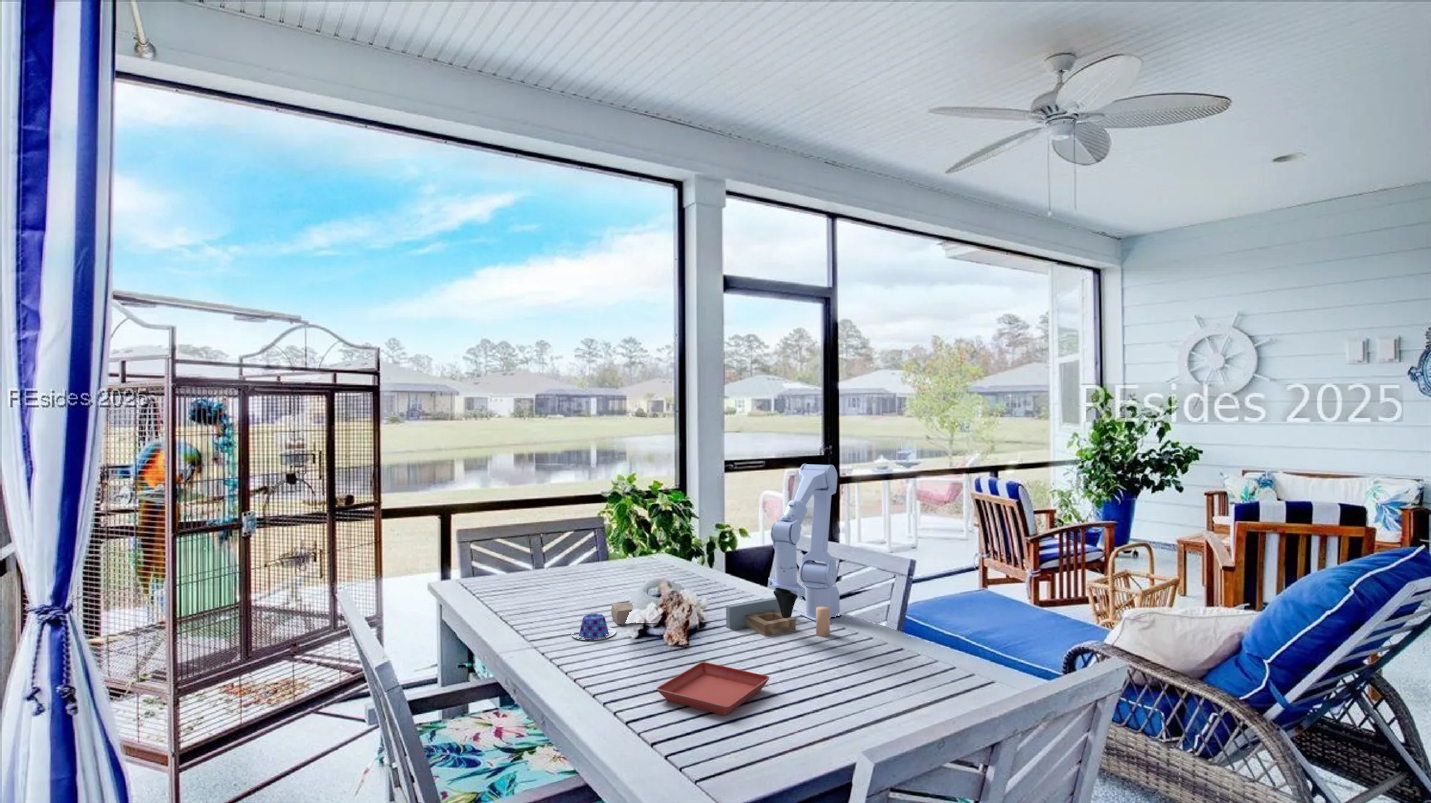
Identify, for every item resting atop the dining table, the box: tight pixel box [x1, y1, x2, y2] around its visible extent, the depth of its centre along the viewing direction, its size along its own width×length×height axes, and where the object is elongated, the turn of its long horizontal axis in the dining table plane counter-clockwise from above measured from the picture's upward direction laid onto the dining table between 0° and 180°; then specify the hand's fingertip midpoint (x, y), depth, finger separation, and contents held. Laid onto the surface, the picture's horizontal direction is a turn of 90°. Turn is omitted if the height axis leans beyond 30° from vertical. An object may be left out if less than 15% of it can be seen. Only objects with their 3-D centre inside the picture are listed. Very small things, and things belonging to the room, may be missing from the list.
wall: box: [725, 596, 781, 630], centre depth 209 cm, size 20×2×6 cm, turn 119°
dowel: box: [815, 607, 831, 638], centre depth 198 cm, size 4×4×7 cm
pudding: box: [571, 613, 617, 641], centre depth 200 cm, size 12×12×5 cm
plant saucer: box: [656, 661, 771, 716], centre depth 158 cm, size 18×18×3 cm
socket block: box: [744, 610, 797, 637], centre depth 204 cm, size 10×10×3 cm
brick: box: [610, 602, 633, 626], centre depth 214 cm, size 17×8×5 cm, turn 110°
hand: (786, 617), depth 197 cm, fingers closed
